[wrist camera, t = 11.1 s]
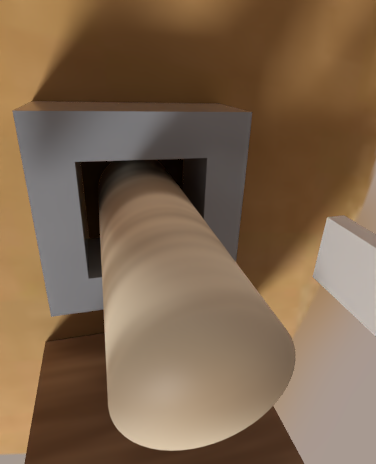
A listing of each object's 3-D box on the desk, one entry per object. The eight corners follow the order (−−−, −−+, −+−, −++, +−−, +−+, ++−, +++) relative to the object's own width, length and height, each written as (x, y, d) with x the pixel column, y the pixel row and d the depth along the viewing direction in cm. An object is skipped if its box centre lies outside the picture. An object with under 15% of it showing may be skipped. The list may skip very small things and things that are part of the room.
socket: (31, 101, 16) (12, 110, 12) (218, 103, 19) (252, 112, 15) (59, 269, 21) (51, 316, 17) (208, 254, 23) (232, 292, 19)
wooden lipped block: (35, 294, 21) (-62, 680, 8) (228, 271, 24) (395, 517, 11) (48, 358, 23) (-9, 736, 10) (222, 329, 26) (353, 590, 13)
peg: (94, 154, 18) (99, 325, 6) (172, 152, 19) (311, 294, 7) (101, 227, 20) (114, 468, 8) (171, 221, 21) (280, 427, 9)
